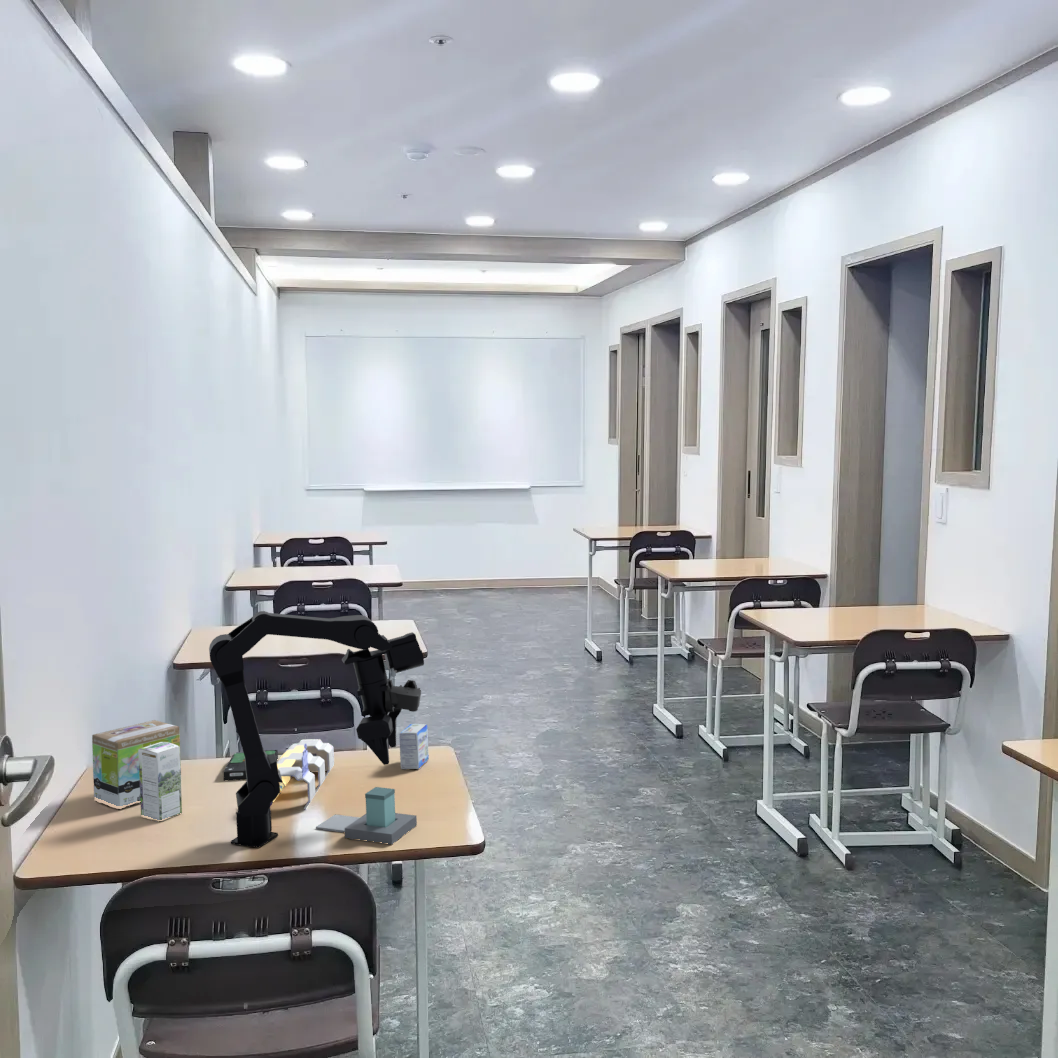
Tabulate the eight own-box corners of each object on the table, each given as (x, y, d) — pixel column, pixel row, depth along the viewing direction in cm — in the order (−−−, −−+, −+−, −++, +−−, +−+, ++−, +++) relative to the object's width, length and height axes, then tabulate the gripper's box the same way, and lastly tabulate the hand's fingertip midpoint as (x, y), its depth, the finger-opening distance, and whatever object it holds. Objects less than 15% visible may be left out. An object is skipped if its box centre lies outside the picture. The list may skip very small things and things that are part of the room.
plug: (385, 837, 193) (384, 796, 192) (366, 834, 195) (365, 793, 194) (396, 829, 197) (394, 789, 196) (377, 827, 198) (375, 786, 198)
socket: (391, 844, 189) (391, 834, 189) (345, 838, 193) (344, 828, 193) (416, 825, 199) (416, 815, 198) (371, 819, 202) (371, 810, 202)
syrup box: (163, 809, 211) (160, 740, 210) (183, 814, 208) (179, 744, 207) (140, 818, 206) (136, 747, 205) (160, 823, 203) (156, 751, 202)
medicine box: (418, 770, 232) (417, 733, 232) (400, 769, 233) (398, 732, 233) (429, 759, 240) (427, 723, 239) (410, 759, 241) (409, 723, 240)
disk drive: (270, 780, 230) (278, 760, 244) (270, 768, 229) (278, 748, 244) (223, 783, 228) (233, 762, 243) (222, 771, 228) (233, 751, 243)
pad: (347, 833, 196) (347, 831, 196) (315, 828, 198) (315, 826, 198) (365, 820, 202) (365, 818, 202) (335, 816, 205) (335, 814, 205)
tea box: (119, 812, 210) (115, 741, 209) (93, 802, 216) (89, 734, 215) (183, 791, 222) (180, 724, 221) (156, 782, 228) (153, 717, 227)
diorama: (310, 811, 209) (307, 748, 207) (260, 812, 209) (257, 749, 208) (334, 772, 233) (332, 716, 232) (289, 773, 234) (287, 717, 232)
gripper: (406, 686, 188) (424, 765, 191) (419, 658, 207) (435, 731, 209) (347, 697, 189) (366, 776, 191) (365, 669, 207) (382, 741, 210)
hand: (390, 755), depth 200 cm, fingers open, 9 cm apart
